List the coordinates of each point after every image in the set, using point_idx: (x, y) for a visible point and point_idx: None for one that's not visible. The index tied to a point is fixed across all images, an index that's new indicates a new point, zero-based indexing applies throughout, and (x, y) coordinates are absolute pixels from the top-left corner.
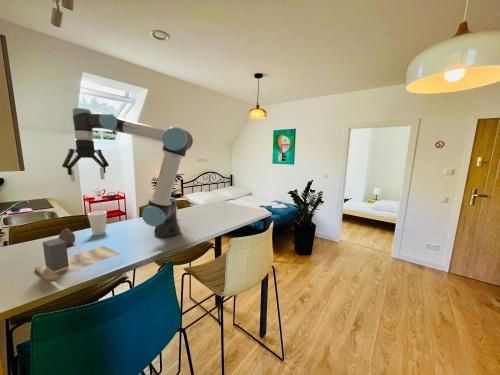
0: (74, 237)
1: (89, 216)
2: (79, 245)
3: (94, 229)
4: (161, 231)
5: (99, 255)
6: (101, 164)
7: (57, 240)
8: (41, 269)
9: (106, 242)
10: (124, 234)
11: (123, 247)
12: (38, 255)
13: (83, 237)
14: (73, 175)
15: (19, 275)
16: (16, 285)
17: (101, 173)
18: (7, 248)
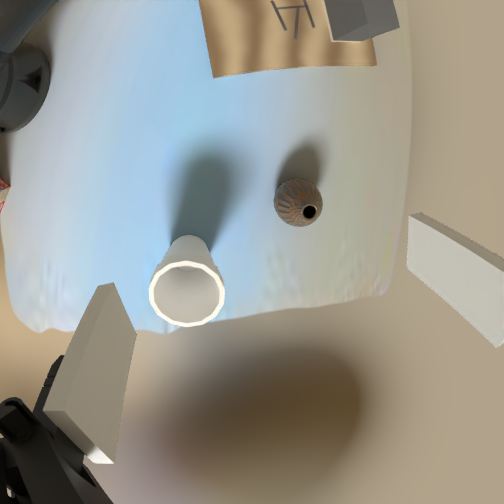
0: (279, 191)
1: (220, 278)
2: (265, 164)
3: (205, 247)
4: (31, 52)
5: (245, 10)
6: (56, 475)
7: (370, 3)
8: (366, 42)
9: (190, 127)
10: (119, 174)
11: (163, 40)
12: (358, 166)
13: (239, 241)
14: (460, 239)
15: (394, 68)
16: None
17: (108, 359)
18: (387, 279)
